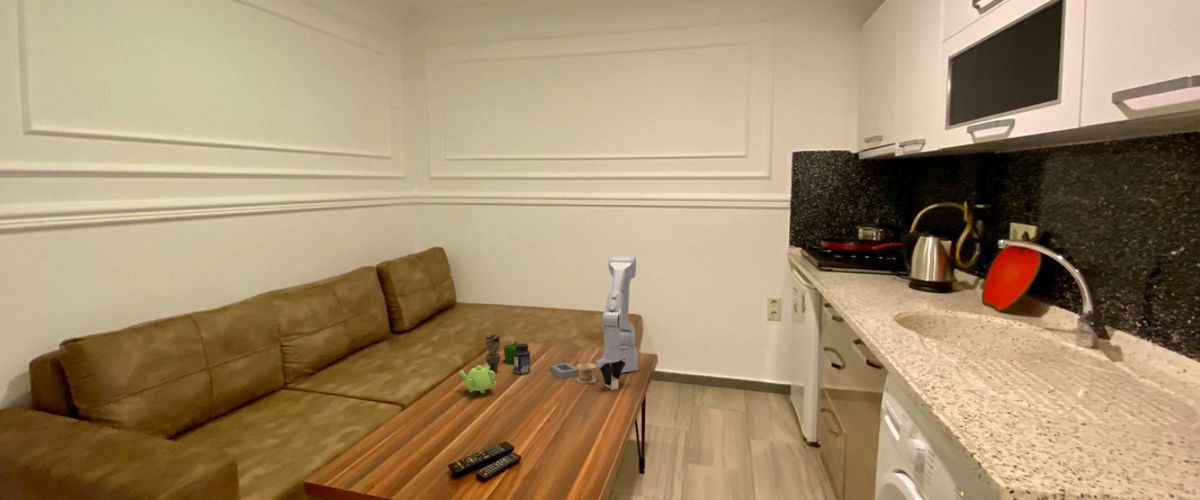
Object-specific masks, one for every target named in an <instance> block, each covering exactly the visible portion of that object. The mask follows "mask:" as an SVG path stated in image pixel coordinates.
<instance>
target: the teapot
mask: <svg viewBox="0 0 1200 500" xmlns="http://www.w3.org/2000/svg"><path fill="white" fill-rule="evenodd" d="M458 374H459V375H460V376H461V377H462V379H463V380H464V386H465V387H466V388H467V389H468V393H474V392H475V391H476V392H477V391H478V392H479V393H480V394H485V393H486V390H490V389H491V388H492V387H493V386H496V385H497V381H496V380H495V378H496V372H493V371H491V370H490V366H489V365H488V364H487V365H485V367H484V366H483V365H481V364H480V365H479V364H478V365H476V366H475V367H473V368H471V369H470V370H469V372H468V374H466V372H464V370H463V369H461V370H460V371H458Z"/></svg>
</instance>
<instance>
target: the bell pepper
mask: <svg viewBox="0 0 1200 500" xmlns="http://www.w3.org/2000/svg"><path fill="white" fill-rule="evenodd" d="M516 344H520V341H518V340H515V341H514V342H513V343H511V344H507V345H506V344H505V345H504V347H503V355H504V360H505V363H506V364H508V365H514V352H515V351H516Z"/></svg>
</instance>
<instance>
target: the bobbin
mask: <svg viewBox="0 0 1200 500" xmlns="http://www.w3.org/2000/svg"><path fill="white" fill-rule="evenodd" d="M576 368H577V369H578V370H579V371H580V375H579V376H577V378H576V382H577V383H578V384H582V385H591V384H595V383H596V382H597V378H596V377H595V376H593V371H595V370H596V369H597V367H596V363H590V362H584V363H583V362H582V363H578V364H577V365H576Z"/></svg>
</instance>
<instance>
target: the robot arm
mask: <svg viewBox="0 0 1200 500" xmlns="http://www.w3.org/2000/svg"><path fill="white" fill-rule="evenodd" d="M608 270H609V272H610V275H611V276H612V284H611V285H612V286H611V292H609V293H608V295H607V300H606V306H605V311H603V313H602V315H601V316H602V318H601V321H602V322H601V324H602V332H603V355H602V356H601V358H600V359H597V360H596V361H595V365H596V368H599V370H600V372H601V374H602V377H603V381H604V384H606V385H611V377H612V376H613V377H615V378H616V379H618V380H619V381H620V378H621V374H622V373H630V372H634V371H639V367H638V365H639V364H638V363H639V359H638V358H639V355H638V349H637V347H636V346H635V344H636V328H635V325H633V324H632V323H631V322H630V321H629V311H630V310H629V307H630V284H631V281H632V279H634V278H636V274H637V258H636V257H635V255H633V256H627V255H623V256H621V255H620V256H619V255H618V256H617V255H610V257H608Z"/></svg>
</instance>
